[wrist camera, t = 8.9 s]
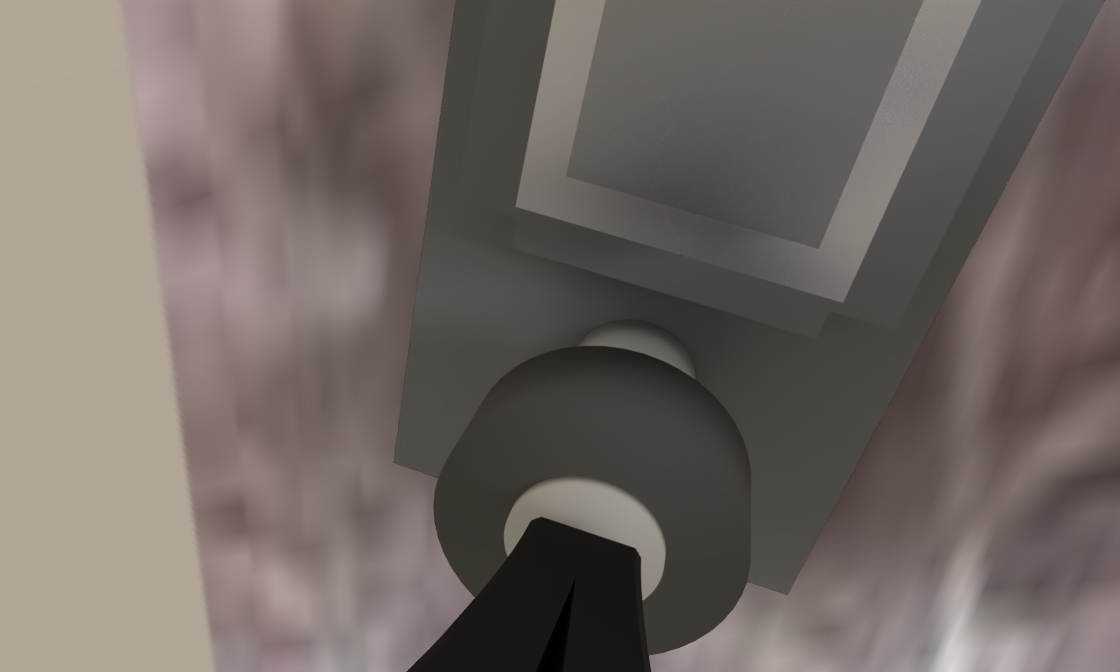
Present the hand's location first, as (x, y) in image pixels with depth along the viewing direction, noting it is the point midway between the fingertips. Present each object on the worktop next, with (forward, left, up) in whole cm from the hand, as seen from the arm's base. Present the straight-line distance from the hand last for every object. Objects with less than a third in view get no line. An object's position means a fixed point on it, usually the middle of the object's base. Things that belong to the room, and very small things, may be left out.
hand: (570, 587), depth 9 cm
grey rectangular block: (0, -7, -6) cm, 9 cm away
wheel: (0, 0, -2) cm, 2 cm away
